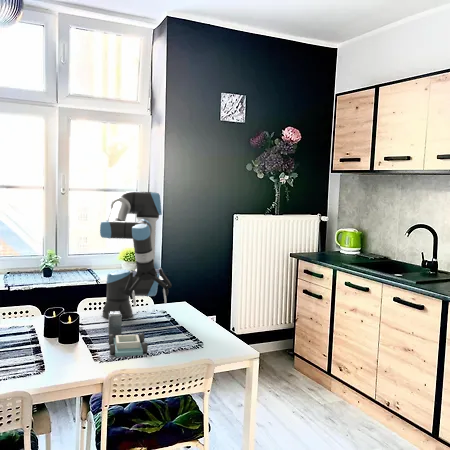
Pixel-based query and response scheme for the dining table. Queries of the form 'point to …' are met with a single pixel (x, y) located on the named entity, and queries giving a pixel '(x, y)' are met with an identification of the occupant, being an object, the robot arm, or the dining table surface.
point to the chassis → (127, 345)
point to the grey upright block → (115, 323)
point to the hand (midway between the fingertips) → (150, 303)
